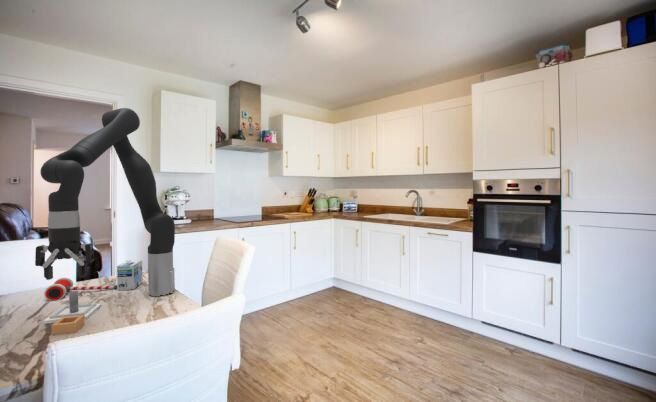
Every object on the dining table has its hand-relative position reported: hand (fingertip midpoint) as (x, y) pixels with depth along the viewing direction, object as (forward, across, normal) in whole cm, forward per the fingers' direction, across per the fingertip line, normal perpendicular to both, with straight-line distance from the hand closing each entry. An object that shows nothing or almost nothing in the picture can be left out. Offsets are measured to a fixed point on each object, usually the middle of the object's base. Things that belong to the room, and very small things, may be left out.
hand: (66, 278), depth 97 cm
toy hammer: (+17, +13, -38) cm, 44 cm away
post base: (+16, +4, -13) cm, 21 cm away
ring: (+16, 0, 0) cm, 16 cm away
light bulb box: (+16, -5, -42) cm, 45 cm away
